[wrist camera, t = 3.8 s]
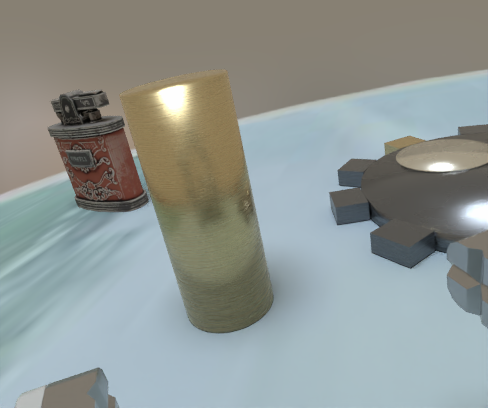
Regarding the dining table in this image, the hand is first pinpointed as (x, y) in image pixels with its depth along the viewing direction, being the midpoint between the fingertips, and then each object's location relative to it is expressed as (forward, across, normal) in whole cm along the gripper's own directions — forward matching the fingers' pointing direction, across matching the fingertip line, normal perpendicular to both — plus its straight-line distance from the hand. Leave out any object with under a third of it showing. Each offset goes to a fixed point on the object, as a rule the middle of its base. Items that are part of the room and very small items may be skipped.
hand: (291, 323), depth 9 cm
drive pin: (+10, 0, +7) cm, 12 cm away
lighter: (+30, +6, +7) cm, 32 cm away
